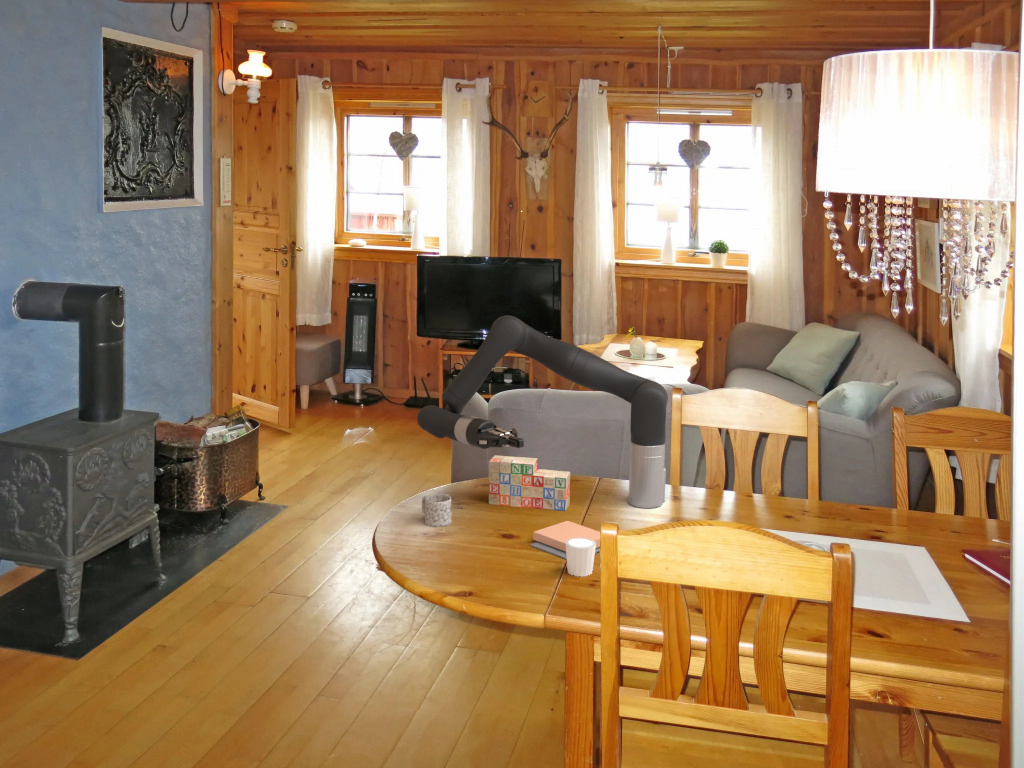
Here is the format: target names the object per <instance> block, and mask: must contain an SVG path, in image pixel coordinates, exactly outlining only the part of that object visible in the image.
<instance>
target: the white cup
mask: <svg viewBox="0 0 1024 768" xmlns="http://www.w3.org/2000/svg"><path fill="white" fill-rule="evenodd" d="M595 548H596V542H595V541H593V540H591V539H587V538H572V539H569V540H567V541H566V556H567V560H566V567H567V573H568V574H569V575H571V576H573V575H574V576H573V577H579V576H580V577H581V578H582V577H589V576H591V575H592V574H593V572H594V563H595V555H596V554H595ZM592 571H593V572H592ZM590 574H591V575H590ZM588 575H589V576H588Z"/></svg>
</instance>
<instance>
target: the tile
mask: <svg viewBox="0 0 1024 768" xmlns="http://www.w3.org/2000/svg"><path fill="white" fill-rule="evenodd" d="M600 532H601V531H598V530H596V529H593V528H591V527H587V526H584V525H582V524H578V523H575V522H572V521H569V520H566V521H563V522H559V523H557V524H553V525H550V526H547V527H544V528H541V529H538V530H535V531H533V537H532V538H533V540H534V541H536V542H540V543H542V544H545V545H548V546H550V547H553V548H556V549H558V550H561V551H564V552H566V541H567V540H569V539H572V538H587V539H591V540H593V541H595V542H596V548H599V547H600ZM596 548H595V549H596Z"/></svg>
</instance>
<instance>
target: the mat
mask: <svg viewBox="0 0 1024 768" xmlns="http://www.w3.org/2000/svg"><path fill="white" fill-rule="evenodd" d="M530 547H533V548H535V549H538V550H540V551H543V552H546V553H548V554H551V555H554V556H557V557H558V558H562V559H564V560H566V561H567V556H566V552H564V551H561V550H558V549H556V548H553V547H550V546H548V545H545V544H542V543H540V542H537V541H536V542H532V543H530ZM598 551H599V553H601V552H600V547H599V548H596V549H595V553H596V554H598V553H597V552H598Z"/></svg>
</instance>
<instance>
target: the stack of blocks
mask: <svg viewBox="0 0 1024 768" xmlns="http://www.w3.org/2000/svg"><path fill="white" fill-rule="evenodd" d="M538 459H539V458H536V457H524V456H522V457H521V456H511V455H510V456H507V455H493V457H491V458H490V460H489V461H488V505H498V506H507V507H516V508H517V507H518V508H528V509H529V508H532V509H540V510H552V511H561V512H565V511H566V510H567V509H568V507H569V506H570V501H571V497H570V493H571V471H567V470H566V471H564V470H553V469H544V468H543V469H540V468H538V465H539V464H538V463H539V462H538V461H539V460H538Z"/></svg>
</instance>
